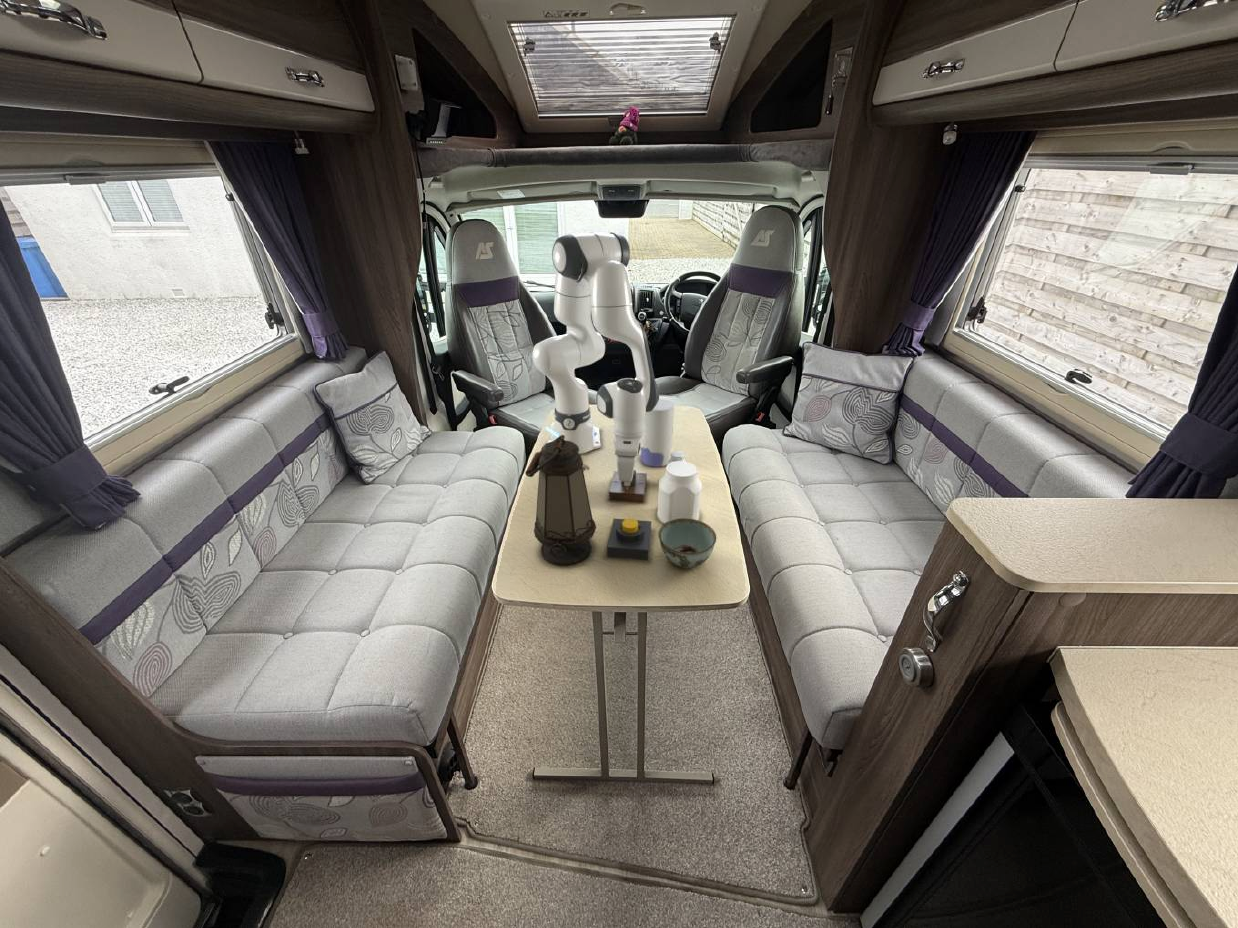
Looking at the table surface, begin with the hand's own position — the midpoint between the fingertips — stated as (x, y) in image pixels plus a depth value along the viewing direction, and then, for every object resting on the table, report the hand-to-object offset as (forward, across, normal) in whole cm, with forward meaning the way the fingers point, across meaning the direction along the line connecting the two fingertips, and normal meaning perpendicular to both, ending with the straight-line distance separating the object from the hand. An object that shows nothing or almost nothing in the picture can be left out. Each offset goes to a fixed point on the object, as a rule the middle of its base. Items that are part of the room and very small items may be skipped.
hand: (628, 478), depth 147 cm
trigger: (-1, +25, +3) cm, 25 cm away
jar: (+4, +11, +15) cm, 19 cm away
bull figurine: (+4, +3, -16) cm, 17 cm away
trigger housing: (+4, +25, +3) cm, 25 cm away
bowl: (+4, +30, +17) cm, 35 cm away
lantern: (+4, +29, -13) cm, 32 cm away
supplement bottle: (+4, -7, +14) cm, 16 cm away
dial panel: (+4, 0, 0) cm, 4 cm away
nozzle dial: (+1, 0, 0) cm, 1 cm away
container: (+4, -20, +7) cm, 22 cm away
